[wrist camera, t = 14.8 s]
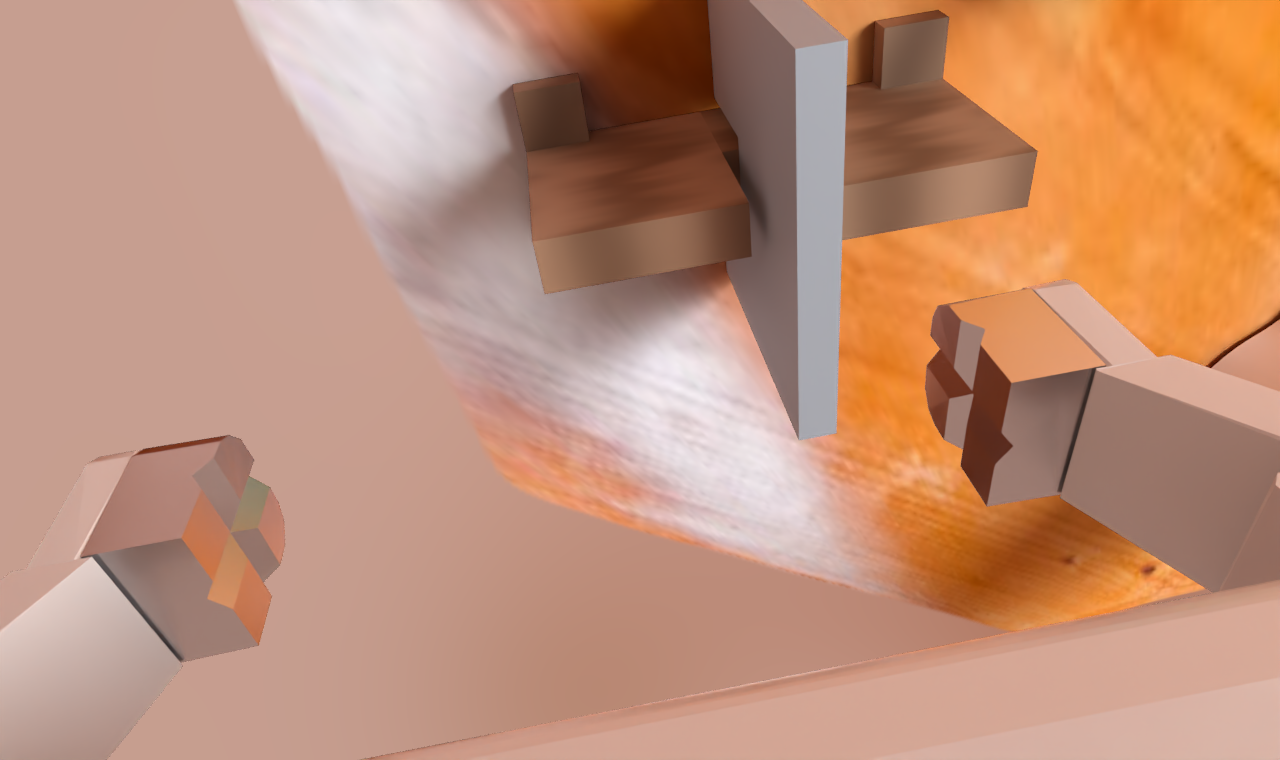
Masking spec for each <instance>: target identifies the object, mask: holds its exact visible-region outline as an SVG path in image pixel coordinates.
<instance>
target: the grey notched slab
mask: <svg viewBox="0 0 1280 760" xmlns="http://www.w3.org/2000/svg"><path fill="white" fill-rule="evenodd" d="M707 1H708V15H709V29H710V43H711V57H712V71H713V85H714V98H715V100H716V101H717V103H718V105H719V106H720V108H721V110H722V111H723V113H724V115H725V116H726V118H727V120H728V121H729V123H730V125H731V126H732V128H733V130H734V131H735V133H736V135H737V136H738V145H739V163H740V182H741V189H742V190H743V192H744V194H745V196H746V198H747V200H748V202H749V209H750V230H751V250H752V257H747V258H742V259H736V260H731V261H726V268H727V273H728V276H729V278H730V280H731V283H732V285H733V287H734V290H735V292H736V294H737V297H738V299H739V301H740V304H741V306H742V308H743V311H744V313H745V315H746V318H747V320H748V322H749V325H750V327H751V329H752V332H753V334H754V336H755V339H756V341H757V343H758V346H759V348H760V350H761V353H762V355H763V357H764V360H765V362H766V364H767V367H768V369H769V371H770V374H771V376H772V378H773V381H774V383H775V385H776V388H777V390H778V392H779V395H780V397H781V399H782V402H783V404H784V407H785V409H786V411H787V414H788V416H789V418H790V421H791V423H792V425H793V428H794V430H795V432H796V435H797V437H798V439H799V440H803V439H809V438H814V437H819V436H825V435H830V434H835V433H836V427H837V393H838V360H839V326H840V292H841V258H842V224H843V190H844V156H845V122H846V89H847V55H848V39H846V38H845V37H844V36H843V35H842V34H841V33H839V32H838V31H837V30H836V29H835V28H834V27H832V26H831V25H830V24H829V23H828V22H827V21H825V20H824V19H823V18H822V17H821V16H820V15H818V14H817V13H816V12H815V11H814V10H813V9H812V8H810V7H809V6H808V5H807V4H806V3H805V2H803V1H802V0H707Z"/></svg>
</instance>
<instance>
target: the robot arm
mask: <svg viewBox="0 0 1280 760" xmlns="http://www.w3.org/2000/svg"><path fill="white" fill-rule="evenodd" d="M930 335H931V337H932V338H933V339H934V341H935V342H936V344H937V345H938V346H939V348H940V350H939V351H938V352H937V354H936V355H935V356H934V357H933V358H932V360H931V361H930V362H929V363H928V364H927V370H926V383H925V390H926V396H927V402H928V408H929V411H930V414H931V416H932V419H933V421H934V424H935V426H936V428H937V429H938V431H939V433H940V434H941V436H942V437H943V439H944V440H945V441H947V442H949V443H951V444H953V445H955V446H957V447H959V448H961V449H963V453H962V460H961V467H962V469H963V470H964V472H965V473H966V475H967V477H968V478H969V480H970V481H971V483H972V484H973V486H974V487H975V489H976V490H977V492H978V493H979V495H980V497H981V498H982V500H983V501H984V503H985V504H986V506H993V505H999V504H1005V503H1011V502H1017V501H1023V500H1029V499H1035V498H1042V497H1048V496H1054V495H1060V494H1061V496H1060V498H1061V499H1063V500H1064V501H1066V502H1067V503H1069V504H1071V505H1072V506H1074V507H1076V508H1077V509H1079V510H1080V511H1082V512H1084V513H1085V514H1087V515H1088V516H1090V517H1092V518H1093V519H1095V520H1097V521H1098V522H1100V523H1101V524H1103V525H1105V526H1106V527H1108V528H1109V529H1111V530H1113V531H1114V532H1116V533H1117V534H1119V535H1121V536H1122V537H1124V538H1126V539H1127V540H1129V541H1130V542H1132V543H1134V544H1135V545H1137V546H1138V547H1140V548H1142V549H1143V550H1145V551H1147V552H1148V553H1150V554H1151V555H1153V556H1155V557H1156V558H1158V559H1159V560H1161V561H1163V562H1164V563H1166V564H1168V565H1169V566H1171V567H1172V568H1174V569H1176V570H1177V571H1179V572H1180V573H1182V574H1184V575H1185V576H1187V577H1188V578H1190V579H1192V580H1193V581H1195V582H1197V583H1198V584H1200V585H1201V586H1203V587H1205V588H1206V589H1208V590H1209V591H1211V592H1213V593H1208V594H1203V595H1198V596H1193V597H1188V598H1183V599H1178V600H1173V601H1168V602H1162V603H1157V604H1152V605H1147V606H1142V607H1137V608H1132V609H1127V610H1122V611H1117V612H1111V613H1106V614H1101V615H1096V616H1091V617H1086V618H1081V619H1076V620H1071V621H1065V622H1060V623H1055V624H1050V625H1045V626H1040V627H1035V628H1030V629H1025V630H1019V631H1014V632H1009V633H1004V634H999V635H994V636H989V637H984V638H979V639H974V640H969V641H963V642H958V643H953V644H948V645H943V646H938V647H933V648H928V649H922V650H917V651H912V652H907V653H902V654H897V655H892V656H887V657H882V658H876V659H872V660H866V661H861V662H856V663H851V664H846V665H841V666H836V667H830V668H825V669H820V670H815V671H810V672H805V673H800V674H795V675H790V676H785V677H780V678H775V679H770V680H765V681H759V682H754V683H749V684H744V685H739V686H734V687H729V688H724V689H719V690H713V691H708V692H703V693H698V694H693V695H688V696H683V697H679V698H673V699H668V700H662V701H657V702H652V703H647V704H642V705H637V706H632V707H627V708H622V709H617V710H612V711H606V712H601V713H596V714H591V715H586V716H581V717H576V718H571V719H566V720H561V721H555V722H550V723H545V724H540V725H535V726H530V727H525V728H520V729H515V730H510V731H504V732H499V733H494V734H489V735H484V736H479V737H474V738H469V739H464V740H459V741H453V742H448V743H443V744H438V745H433V746H428V747H423V748H417V749H412V750H408V751H403V752H397V753H392V754H387V755H381V756H377V757H371V758H367V759H361V760H1280V319H1279V320H1278V321H1277V322H1275V323H1274V324H1272V325H1271V326H1269V327H1268V328H1266V329H1265V330H1263V331H1262V332H1260V333H1258V334H1257V335H1255V336H1253V337H1252V338H1250V339H1249V340H1247V341H1245V342H1244V343H1242V344H1241V345H1239V346H1238V347H1237V348H1235V349H1234V350H1232V351H1231V352H1230V353H1229V354H1227V355H1226V356H1225V357H1223V358H1222V359H1221V360H1220V361H1219V362H1218V363H1216V364H1215V365H1214V366H1213V367H1212V368H1208V367H1205V366H1202V365H1199V364H1196V363H1193V362H1191V361H1188V360H1185V359H1182V358H1179V357H1176V356H1173V355H1168V356H1162V357H1156V356H1155V355H1154V354H1153V353H1152V352H1151V351H1150V350H1149V349H1148V348H1147V347H1146V346H1144V345H1143V344H1142V343H1141V342H1140V341H1139V340H1138V339H1137V338H1136V337H1135V336H1134V335H1133V334H1132V333H1130V332H1129V331H1128V330H1127V329H1126V328H1125V327H1124V326H1123V325H1122V324H1121V323H1120V322H1119V321H1117V320H1116V319H1115V318H1114V317H1113V316H1112V315H1111V314H1110V313H1109V312H1108V311H1107V310H1106V309H1105V308H1103V307H1102V306H1101V305H1100V304H1099V303H1098V302H1097V301H1096V300H1095V299H1094V298H1093V297H1092V296H1090V295H1089V294H1088V293H1087V292H1086V291H1085V290H1084V289H1083V288H1082V287H1081V286H1080V285H1079V284H1078V283H1076V282H1073V281H1070V280H1066V279H1063V280H1059V281H1054V282H1049V283H1045V284H1040V285H1035V286H1030V287H1026V288H1023V289H1022V290H1018V291H1013V292H1008V293H1002V294H997V295H992V296H986V297H981V298H976V299H970V300H965V301H960V302H954V303H949V304H944V305H939V306H938V307H937V309H936V311H935V313H934V315H933V319H932V326H931V334H930ZM253 462H254V459H253V457H252V456H251V454H250V453H249V451H248V450H247V448H246V447H245V445H244V443H243V442H242V440H241V439H239V438H236V437H233V436H230V435H226V436H220V437H214V438H208V439H202V440H195V441H189V442H183V443H177V444H170V445H164V446H158V447H152V448H146V449H143V450H139V451H138V450H137V451H136V450H135V451H130V452H124V453H118V454H113V455H107V456H101V457H98V458H96V459H95V460H93V461H91V462H89V463H87V464H86V466H85V467H84V469H83V471H82V473H81V474H80V476H79V478H78V480H77V481H76V483H75V485H74V486H73V488H72V490H71V492H70V493H69V495H68V497H67V499H66V500H65V502H64V504H63V506H62V507H61V509H60V511H59V512H58V514H57V516H56V518H55V519H54V521H53V523H52V525H51V526H50V528H49V530H48V531H47V533H46V535H45V537H44V538H43V540H42V542H41V543H40V545H39V547H38V549H37V550H36V552H35V554H34V556H33V557H32V559H31V561H30V562H29V564H28V566H27V568H26V569H22V570H17V571H12V572H10V573H9V574H7V575H6V576H5V577H4V578H2V579H1V580H0V760H107V759H108V758H109V757H110V755H111V754H112V753H113V752H114V750H115V749H116V748H117V747H118V745H119V744H120V743H121V742H122V741H123V739H124V738H125V737H126V736H127V734H128V733H129V732H130V731H131V730H132V728H133V727H134V726H135V724H136V723H137V722H138V721H139V720H140V718H141V717H142V716H143V715H144V714H145V712H146V711H147V710H148V709H149V707H150V706H151V705H152V704H153V702H154V701H155V700H156V699H157V698H158V696H159V695H160V694H161V693H162V691H163V690H164V689H165V687H166V686H167V685H168V684H169V683H170V682H171V680H172V679H173V678H174V677H175V675H176V674H177V673H178V672H179V670H180V669H181V668H182V667H183V666H182V664H181V662H186V661H190V660H195V659H200V658H204V657H209V656H213V655H218V654H222V653H227V652H232V651H236V650H241V649H245V648H250V647H254V646H258V645H259V642H260V638H261V635H262V631H263V628H264V624H265V620H266V617H267V613H268V609H269V606H270V602H271V598H272V596H271V594H270V592H269V591H268V589H267V588H266V586H265V585H264V583H263V582H264V581H265V580H266V579H267V578H268V577H269V576H270V575H271V574H272V573H273V572H274V571H275V570H276V569H277V568H278V567H279V566H280V564H281V560H282V556H283V551H284V547H285V530H284V519H283V515H282V512H281V509H280V506H279V502H278V501H277V499H276V497H275V495H274V494H273V492H272V490H271V488H270V487H269V486H266V485H265V484H263V483H261V482H259V481H257V480H255V479H253V478H252V477H250V476H249V474H250V471H251V468H252V465H253Z"/></svg>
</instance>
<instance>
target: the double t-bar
mask: <svg viewBox="0 0 1280 760" xmlns="http://www.w3.org/2000/svg"><path fill="white" fill-rule="evenodd" d="M948 23H949V17H948V16H947V15H945V14H944V13H942V12H940V11H939V10H936V11H930V12H924V13H919V14H913V15H907V16H902V17H896V18H890V19H884V20H879V21H875V33H874V53H873V74H872V82H866V83H860V84H855V85H849V86H847V89H846V122H845V156H844V190H843V224H842V240H846V239H852V238H857V237H863V236H868V235H874V234H879V233H885V232H890V231H896V230H902V229H907V228H913V227H918V226H924V225H929V224H935V223H940V222H946V221H951V220H957V219H962V218H968V217H973V216H979V215H984V214H990V213H995V212H1001V211H1006V210H1012V209H1017V208H1023V207H1027V206H1028V201H1029V195H1030V190H1031V184H1032V179H1033V173H1034V168H1035V162H1036V157H1037V150H1035V149H1034V148H1033V147H1031V146H1030V145H1029V144H1028V143H1026V142H1025V141H1024V140H1022V139H1021V138H1020V137H1018V136H1017V135H1016V134H1014V133H1013V132H1012V131H1011V130H1009V129H1008V128H1007V127H1005V126H1004V125H1003V124H1001V123H1000V122H999V121H997V120H996V119H995V118H994V117H992V116H991V115H990V114H988V113H987V112H986V111H984V110H983V109H982V108H980V107H979V106H978V105H977V104H975V103H974V102H973V101H971V100H970V99H969V98H967V97H966V96H965V95H963V94H962V93H961V92H960V91H958V90H957V89H956V88H954V87H953V86H952V85H950V84H949V83H948V82H946V81H945V80H944V79H943V72H944V62H945V52H946V42H947V33H948ZM513 94H514V98H515V103H516V107H517V112H518V116H519V120H520V125H521V129H522V134H523V138H524V143H525V147H526V152H527V166H528V181H529V196H530V211H531V227H532V242H533V246H534V250H535V255H536V259H537V263H538V267H539V272H540V276H541V280H542V284H543V288H544V293H545V294H549V293H554V292H560V291H565V290H571V289H576V288H582V287H587V286H593V285H598V284H604V283H609V282H615V281H620V280H626V279H631V278H637V277H642V276H648V275H653V274H659V273H664V272H670V271H675V270H681V269H686V268H692V267H697V266H703V265H709V264H714V263H720V262H725V261H731V260H736V259H742V258H747V257H752V250H751V230H750V209H749V202H748V200H747V198H746V196H745V194H744V192H743V190H742V189H741V182H740V163H739V145H738V136H737V135H736V133H735V131H734V130H733V128H732V126H731V125H730V123H729V121H728V120H727V118H726V116H725V115H724V113H723V111H722V110H721V108H718V109H713V110H707V111H701V112H696V113H690V114H684V115H679V116H673V117H667V118H662V119H656V120H650V121H645V122H639V123H633V124H628V125H622V126H616V127H611V128H605V129H599V130H594V131H588V128H587V122H586V116H585V110H584V105H583V99H582V93H581V87H580V81H579V77H578V73H574V74H569V75H563V76H557V77H552V78H546V79H540V80H534V81H529V82H523V83H517V84H513Z"/></svg>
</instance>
